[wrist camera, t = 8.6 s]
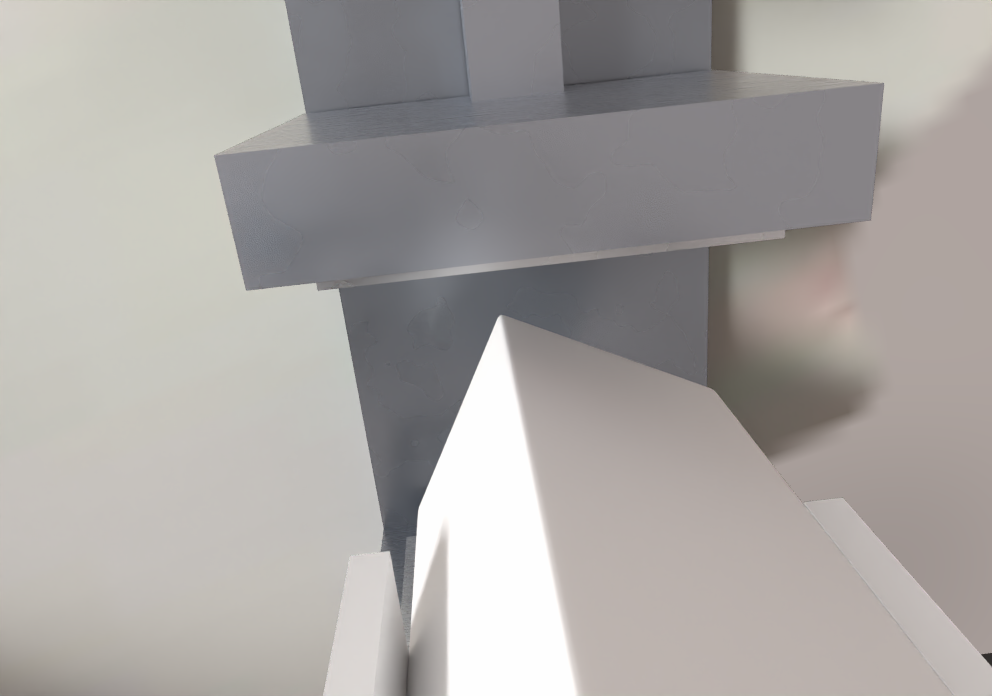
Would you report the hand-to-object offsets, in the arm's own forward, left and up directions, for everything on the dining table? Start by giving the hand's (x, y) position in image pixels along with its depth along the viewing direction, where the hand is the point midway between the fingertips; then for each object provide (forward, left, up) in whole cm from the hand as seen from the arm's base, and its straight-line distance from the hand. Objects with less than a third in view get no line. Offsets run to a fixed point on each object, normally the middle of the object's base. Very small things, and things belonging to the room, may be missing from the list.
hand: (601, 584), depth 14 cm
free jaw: (0, +11, -11) cm, 16 cm away
